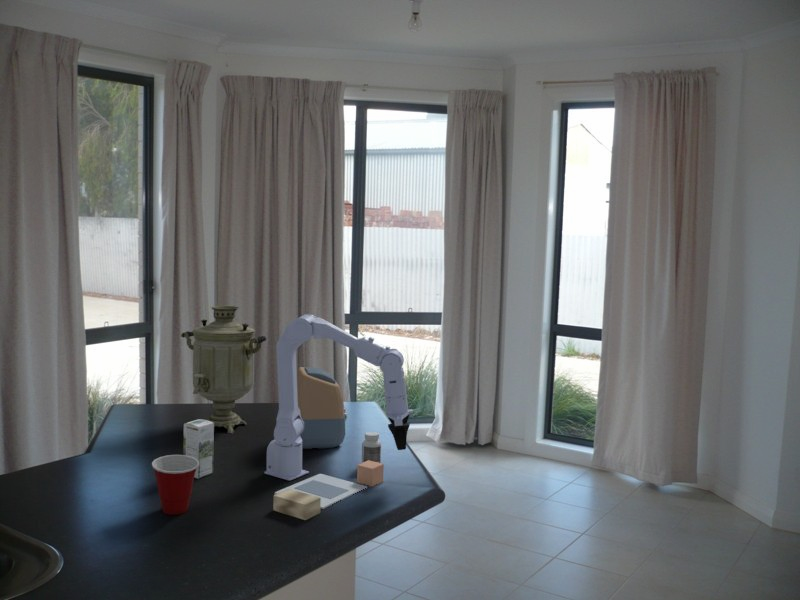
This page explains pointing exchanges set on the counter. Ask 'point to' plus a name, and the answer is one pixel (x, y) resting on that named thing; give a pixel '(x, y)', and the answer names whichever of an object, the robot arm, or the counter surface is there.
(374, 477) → the cube
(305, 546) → the counter surface
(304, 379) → the orange and grey canister
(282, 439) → the robot arm
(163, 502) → the plastic cup
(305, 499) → the slab
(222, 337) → the samovar
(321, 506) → the white flat plate
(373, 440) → the pill bottle
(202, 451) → the syrup box
